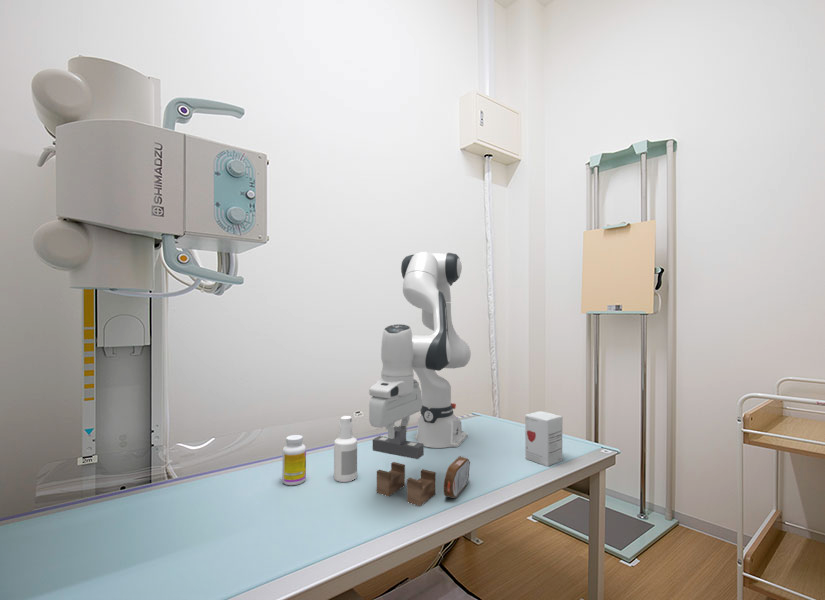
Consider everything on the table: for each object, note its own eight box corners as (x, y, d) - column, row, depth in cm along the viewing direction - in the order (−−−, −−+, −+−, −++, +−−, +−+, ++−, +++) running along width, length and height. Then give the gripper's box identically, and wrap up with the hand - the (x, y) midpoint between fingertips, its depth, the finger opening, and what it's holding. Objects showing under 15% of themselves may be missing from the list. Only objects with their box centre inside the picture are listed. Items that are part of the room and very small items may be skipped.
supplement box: (524, 458, 138) (524, 414, 138) (539, 453, 144) (539, 410, 144) (547, 467, 131) (547, 420, 131) (563, 460, 137) (563, 415, 137)
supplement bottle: (308, 483, 119) (309, 438, 119) (285, 488, 115) (285, 442, 116) (302, 474, 124) (302, 432, 125) (279, 479, 121) (280, 435, 121)
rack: (393, 482, 119) (393, 461, 119) (435, 494, 112) (435, 472, 112) (376, 493, 112) (376, 471, 112) (420, 506, 105) (420, 482, 105)
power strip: (379, 446, 117) (379, 423, 117) (423, 454, 110) (423, 430, 110) (372, 450, 114) (372, 427, 113) (417, 459, 107) (417, 434, 107)
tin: (461, 480, 121) (461, 451, 121) (471, 482, 120) (471, 453, 120) (442, 502, 107) (442, 469, 108) (453, 504, 106) (453, 471, 106)
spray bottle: (352, 483, 118) (352, 421, 119) (330, 481, 120) (330, 419, 120) (360, 474, 125) (360, 415, 125) (339, 472, 126) (339, 413, 127)
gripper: (409, 377, 122) (409, 423, 122) (364, 390, 105) (365, 443, 105) (427, 379, 119) (427, 426, 119) (384, 393, 102) (384, 448, 102)
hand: (397, 435), depth 112 cm, fingers closed on power strip, 4 cm apart
